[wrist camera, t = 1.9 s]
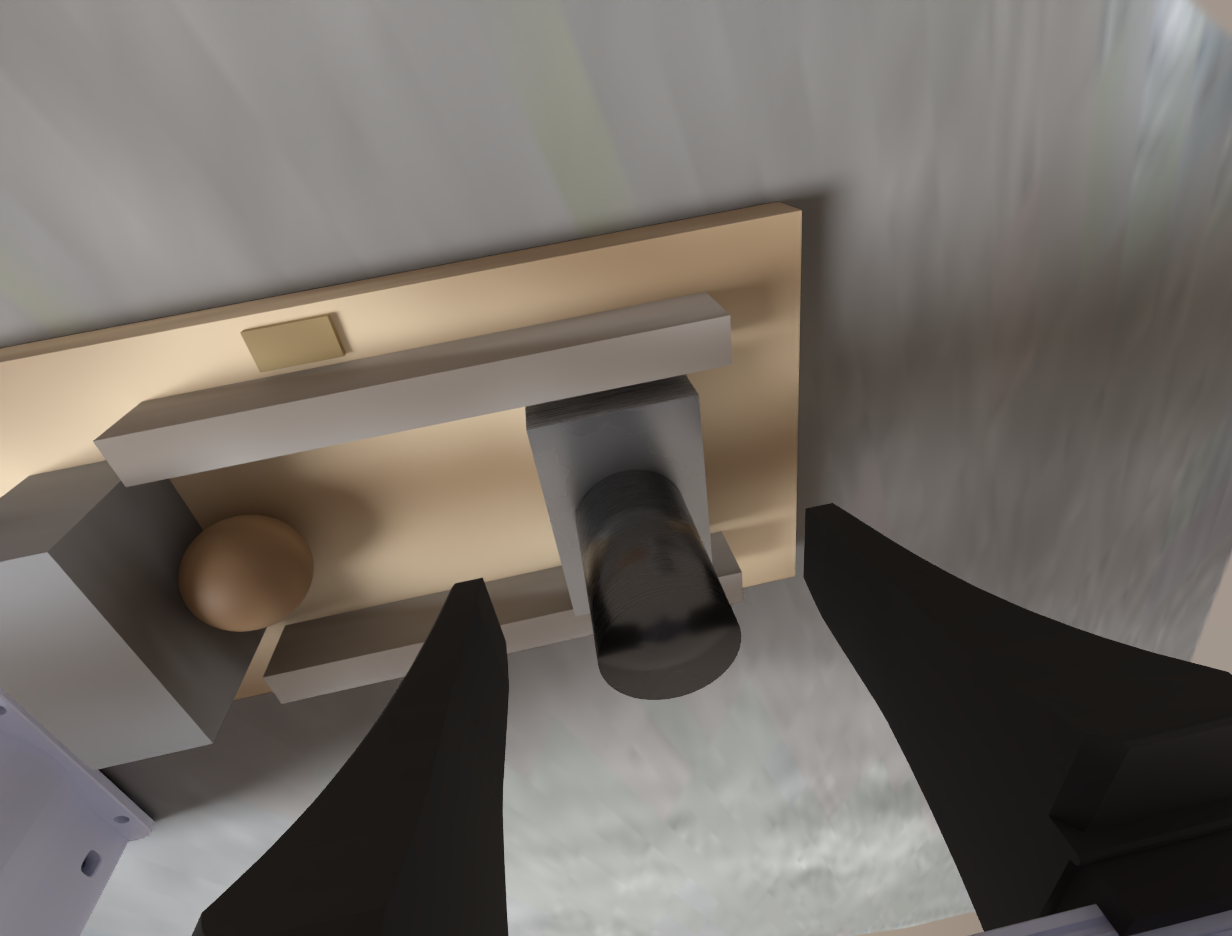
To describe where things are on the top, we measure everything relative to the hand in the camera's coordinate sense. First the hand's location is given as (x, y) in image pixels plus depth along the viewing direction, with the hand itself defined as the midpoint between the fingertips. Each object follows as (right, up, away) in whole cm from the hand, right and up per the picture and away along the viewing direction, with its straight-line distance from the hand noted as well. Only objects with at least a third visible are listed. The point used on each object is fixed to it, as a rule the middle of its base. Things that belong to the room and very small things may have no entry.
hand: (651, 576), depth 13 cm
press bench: (-6, +2, +5) cm, 8 cm away
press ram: (-1, +2, +4) cm, 5 cm away
